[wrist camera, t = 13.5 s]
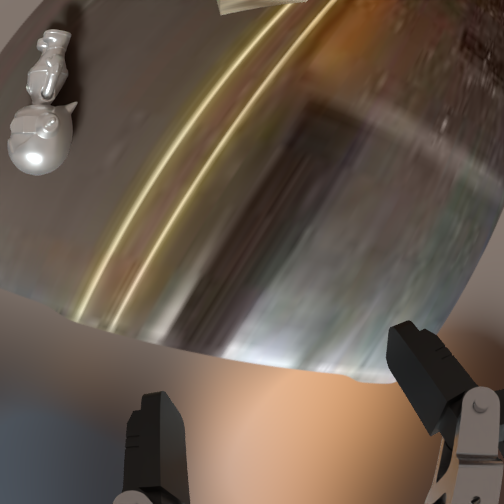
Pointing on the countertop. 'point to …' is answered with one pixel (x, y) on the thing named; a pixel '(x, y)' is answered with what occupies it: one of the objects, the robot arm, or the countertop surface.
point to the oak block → (249, 4)
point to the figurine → (44, 112)
